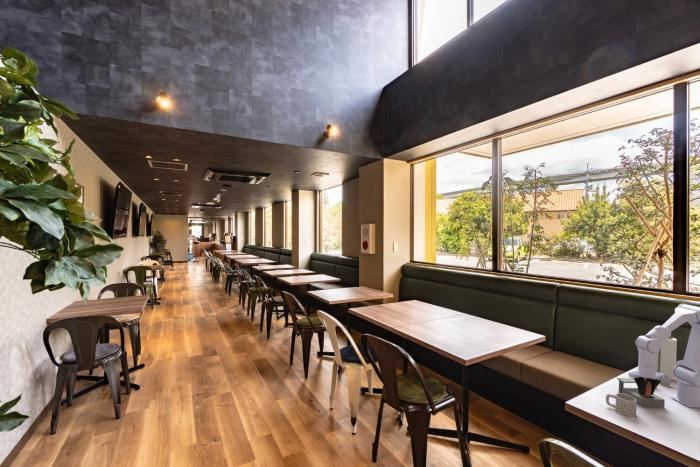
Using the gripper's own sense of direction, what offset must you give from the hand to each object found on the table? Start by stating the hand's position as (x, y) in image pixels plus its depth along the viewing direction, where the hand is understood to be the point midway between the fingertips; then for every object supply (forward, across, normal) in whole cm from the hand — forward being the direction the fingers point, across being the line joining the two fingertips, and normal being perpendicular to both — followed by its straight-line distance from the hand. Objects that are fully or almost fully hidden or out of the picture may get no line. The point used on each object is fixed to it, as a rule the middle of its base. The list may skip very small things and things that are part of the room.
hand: (645, 393), depth 142 cm
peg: (+2, 0, 0) cm, 2 cm away
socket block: (+4, 0, +3) cm, 5 cm away
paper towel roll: (+4, +35, +26) cm, 44 cm away
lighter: (+4, +25, +18) cm, 31 cm away
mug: (+4, -17, -6) cm, 19 cm away
